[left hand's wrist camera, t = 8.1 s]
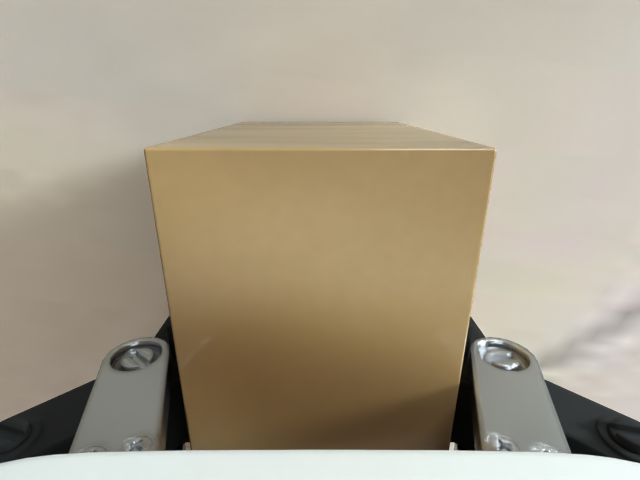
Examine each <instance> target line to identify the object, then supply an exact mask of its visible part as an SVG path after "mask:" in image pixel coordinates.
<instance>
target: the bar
mask: <svg viewBox="0 0 640 480" xmlns="http://www.w3.org/2000/svg"><path fill="white" fill-rule="evenodd" d="M144 154H145V160H146V167H147V173H148V179H149V186H150V192H151V198H152V205H153V211H154V217H155V224H156V230H157V236H158V243H159V249H160V255H161V262H162V268H163V275H164V281H165V287H166V294H167V300H168V306H169V313H170V319H171V325H172V332H173V338H174V344H175V351H176V357H177V363H178V370H179V376H180V382H181V389H182V395H183V401H184V408H185V414H186V421H187V427H188V433H189V440H190V446H191V450H449V446H450V439H451V433H452V427H453V421H454V414H455V408H456V402H457V395H458V389H459V383H460V377H461V370H462V364H463V358H464V352H465V345H466V339H467V333H468V327H469V320H470V314H471V308H472V302H473V295H474V289H475V283H476V276H477V270H478V264H479V258H480V251H481V245H482V239H483V233H484V226H485V220H486V214H487V208H488V201H489V195H490V189H491V183H492V176H493V170H494V164H495V157H496V149H495V148H493V147H489V146H485V145H481V144H478V143H474V142H470V141H466V140H462V139H459V138H455V137H451V136H447V135H443V134H440V133H436V132H432V131H428V130H424V129H421V128H417V127H413V126H409V125H406V124H402V123H398V122H241V123H237V124H234V125H230V126H226V127H222V128H218V129H215V130H211V131H207V132H203V133H200V134H196V135H192V136H188V137H185V138H181V139H177V140H173V141H170V142H166V143H162V144H158V145H155V146H151V147H147V148H145V149H144Z"/></svg>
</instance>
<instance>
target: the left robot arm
mask: <svg viewBox="0 0 640 480" xmlns="http://www.w3.org/2000/svg"><path fill="white" fill-rule="evenodd" d="M185 442H190V440H189V433H188V427H187V421H186V414H185V408H184V401H183V395H182V389H181V382H180V376H179V370H178V363H177V357H176V351H175V344H174V338H173V332H172V325H171V319H170V316H169V317H168V319H167V320H166V321H165V323H164V324H163V326H162V327H161V329H160V330H159V332H158V333H157V334H156V336H155V337H154V338H152V337H147V338H139V339H134V340H131V341H128V342H125V343H123V344H121V345H119V346H117V347H116V348H114V349H113V350H111V351H110V352H109V353H108V354H107V355H106V356H105V358H104V360H103V361H102V364H101V367H100V370H99V372H98V375H97V378H96V379H95V380H93V381H91V382H89V383H86V384H84V385H82V386H80V387H78V388H75V389H73V390H71V391H69V392H66V393H64V394H62V395H60V396H57V397H55V398H53V399H51V400H48V401H46V402H44V403H42V404H39V405H37V406H35V407H33V408H30V409H28V410H26V411H24V412H22V413H19V414H17V415H15V416H13V417H10V418H8V419H6V420H4V421H1V422H0V480H640V422H638V421H636V420H634V419H632V418H629V417H627V416H625V415H623V414H621V413H618V412H616V411H614V410H612V409H609V408H607V407H605V406H603V405H600V404H598V403H596V402H594V401H591V400H589V399H587V398H585V397H582V396H580V395H578V394H576V393H573V392H571V391H569V390H567V389H564V388H562V387H560V386H558V385H555V384H553V383H551V382H549V381H547V380H544V378H543V375H542V372H541V370H540V367H539V364H538V361H537V360H536V358H535V356H534V355H533V354H532V353H531V352H530V351H529V350H527V349H526V348H524V347H523V346H521V345H519V344H517V343H515V342H512V341H509V340H506V339H501V338H493V337H488V338H485V336H484V335H483V333H482V332H481V331H480V329H479V328H478V326H477V325H476V323H475V322H474V321H473V319H472V318H471V316H470V320H469V327H468V333H467V339H466V345H465V352H464V358H463V364H462V370H461V377H460V383H459V389H458V395H457V402H456V408H455V414H454V421H453V427H452V433H451V439H450V442H454V443H455V447H454V450H186V447H185Z"/></svg>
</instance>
